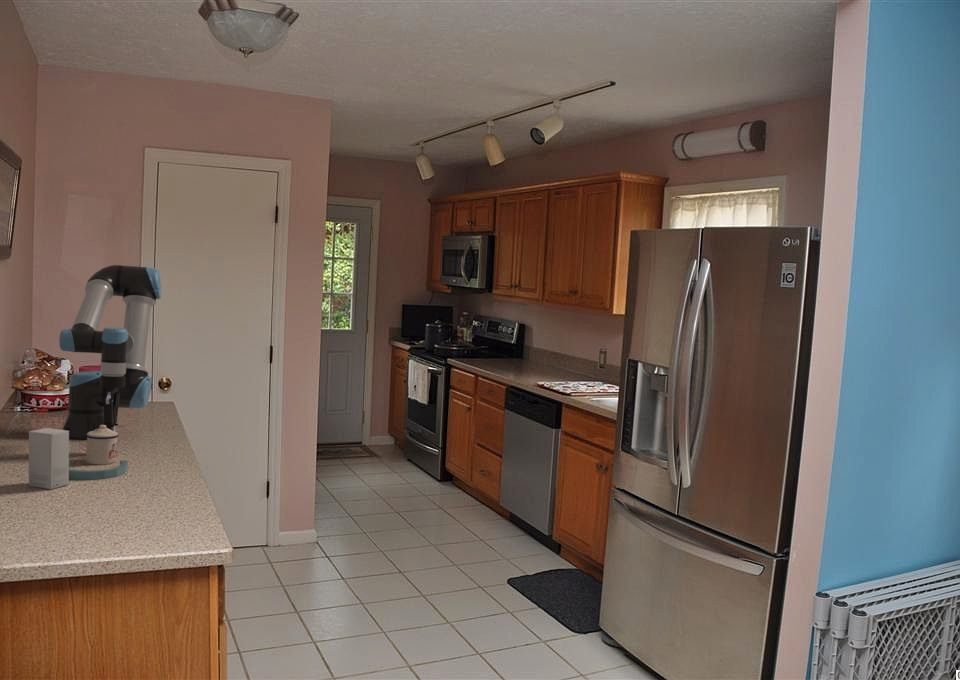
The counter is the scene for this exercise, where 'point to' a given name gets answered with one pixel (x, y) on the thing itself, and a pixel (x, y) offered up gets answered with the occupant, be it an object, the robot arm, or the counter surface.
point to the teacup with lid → (101, 446)
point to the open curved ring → (99, 472)
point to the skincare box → (48, 458)
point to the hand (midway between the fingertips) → (109, 445)
